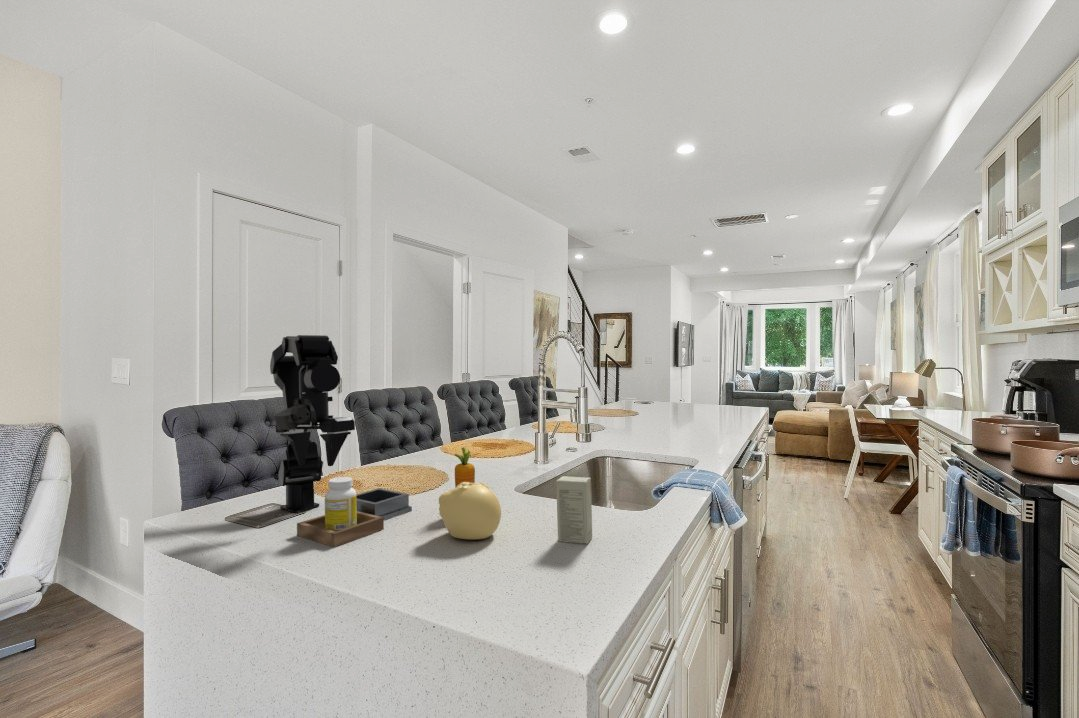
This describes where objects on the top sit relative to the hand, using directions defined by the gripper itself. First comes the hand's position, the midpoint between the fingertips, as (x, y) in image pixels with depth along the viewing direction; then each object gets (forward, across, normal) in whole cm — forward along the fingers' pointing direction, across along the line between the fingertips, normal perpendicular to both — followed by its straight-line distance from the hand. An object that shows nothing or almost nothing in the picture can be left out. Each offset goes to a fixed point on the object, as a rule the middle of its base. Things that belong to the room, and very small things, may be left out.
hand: (315, 465), depth 115 cm
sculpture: (+15, +32, +11) cm, 37 cm away
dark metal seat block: (+13, +4, +13) cm, 19 cm away
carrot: (+14, +22, +23) cm, 35 cm away
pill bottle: (+14, +7, 0) cm, 16 cm away
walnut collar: (+14, +7, 0) cm, 15 cm away
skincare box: (+16, +52, +19) cm, 57 cm away
